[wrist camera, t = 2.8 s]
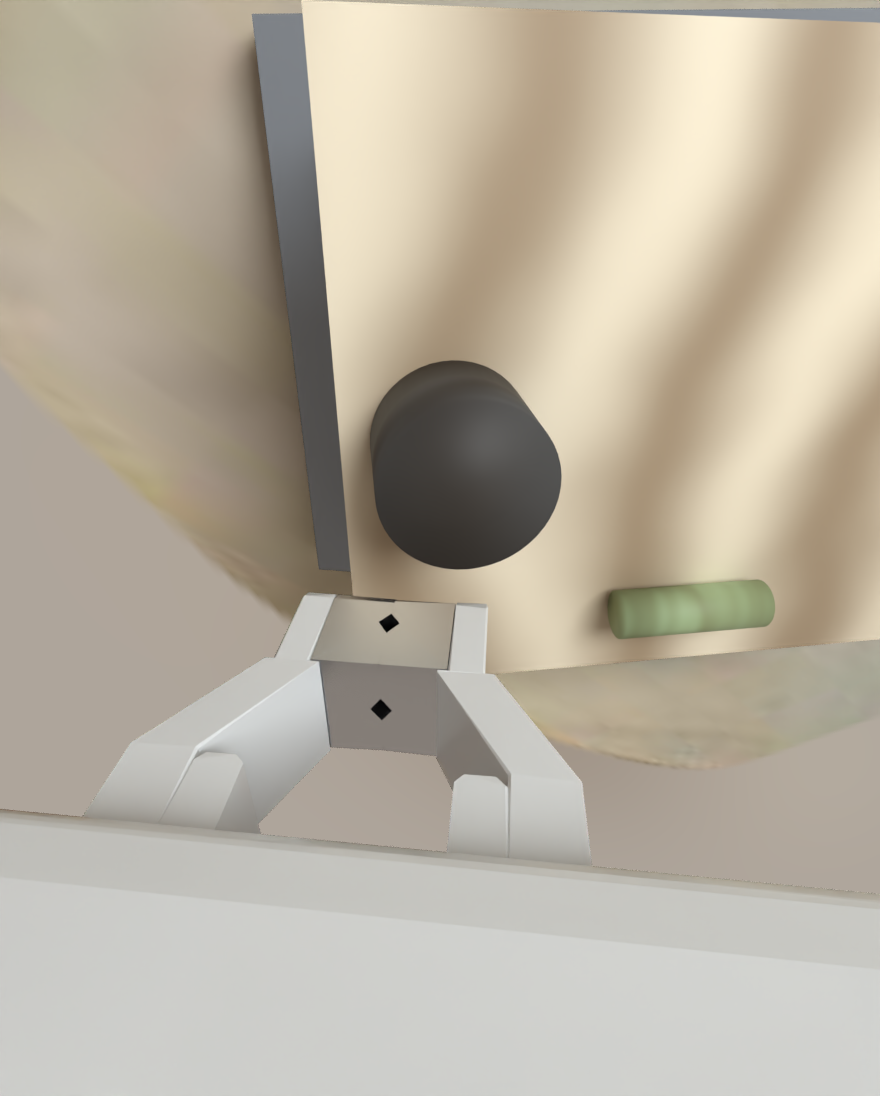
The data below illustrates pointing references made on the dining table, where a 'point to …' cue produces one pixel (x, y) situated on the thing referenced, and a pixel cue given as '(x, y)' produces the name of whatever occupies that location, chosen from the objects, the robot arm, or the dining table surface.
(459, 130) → the plate
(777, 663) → the dining table surface
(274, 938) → the robot arm
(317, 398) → the base
